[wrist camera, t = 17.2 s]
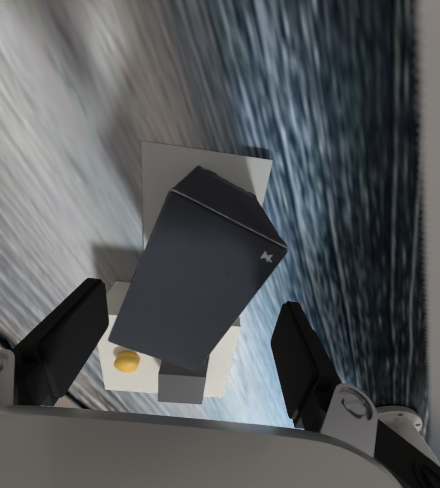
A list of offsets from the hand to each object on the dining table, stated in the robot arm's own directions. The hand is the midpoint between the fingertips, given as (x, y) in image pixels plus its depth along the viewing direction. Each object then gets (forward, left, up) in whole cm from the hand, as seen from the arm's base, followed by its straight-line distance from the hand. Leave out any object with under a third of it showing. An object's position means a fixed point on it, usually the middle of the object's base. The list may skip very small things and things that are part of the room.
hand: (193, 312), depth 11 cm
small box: (+1, 0, -11) cm, 11 cm away
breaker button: (-14, +1, -10) cm, 17 cm away
